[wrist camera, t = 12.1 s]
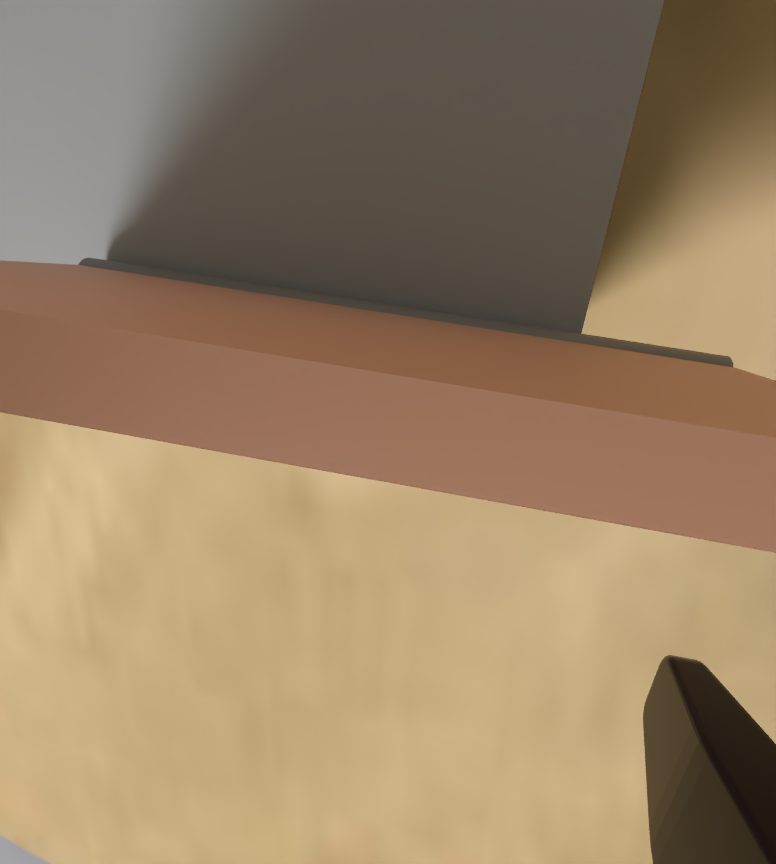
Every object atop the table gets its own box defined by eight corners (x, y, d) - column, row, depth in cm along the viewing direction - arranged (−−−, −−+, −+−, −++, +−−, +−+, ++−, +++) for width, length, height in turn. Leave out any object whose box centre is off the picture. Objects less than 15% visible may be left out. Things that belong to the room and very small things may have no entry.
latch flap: (718, 353, 13) (1153, 477, 4) (703, 411, 13) (1090, 629, 5) (103, 258, 14) (-454, 215, 6) (101, 313, 14) (-436, 350, 6)
